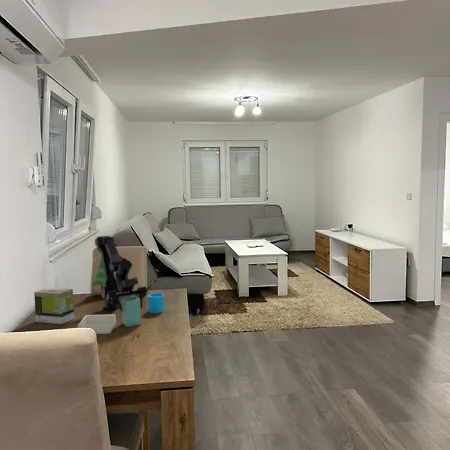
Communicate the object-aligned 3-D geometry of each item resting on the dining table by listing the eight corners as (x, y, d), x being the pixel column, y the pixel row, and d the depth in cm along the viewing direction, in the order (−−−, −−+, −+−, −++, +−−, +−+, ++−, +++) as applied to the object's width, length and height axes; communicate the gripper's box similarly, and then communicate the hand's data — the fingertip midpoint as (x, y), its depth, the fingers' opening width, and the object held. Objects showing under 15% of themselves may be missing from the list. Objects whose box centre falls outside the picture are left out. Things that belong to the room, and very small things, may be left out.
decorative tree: (87, 297, 252) (85, 245, 249) (103, 290, 266) (101, 242, 264) (107, 299, 247) (105, 246, 244) (122, 292, 262) (121, 242, 259)
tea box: (75, 318, 212) (73, 288, 210) (61, 325, 202) (59, 293, 201) (49, 316, 216) (48, 286, 215) (35, 322, 207) (33, 291, 206)
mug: (166, 312, 220) (165, 296, 219) (149, 314, 217) (149, 297, 217) (161, 306, 231) (161, 290, 231) (146, 307, 229) (145, 292, 228)
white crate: (86, 324, 202) (85, 315, 201) (115, 323, 203) (115, 314, 202) (78, 334, 188) (78, 324, 188) (110, 333, 189) (110, 323, 189)
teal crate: (122, 323, 203) (121, 298, 202) (136, 320, 206) (135, 296, 205) (127, 327, 197) (126, 301, 196) (141, 324, 201) (140, 299, 200)
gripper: (106, 274, 199) (115, 303, 190) (145, 269, 208) (155, 297, 200) (102, 288, 206) (110, 316, 198) (140, 282, 216) (149, 309, 207)
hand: (131, 309), depth 200 cm, fingers open, 9 cm apart
